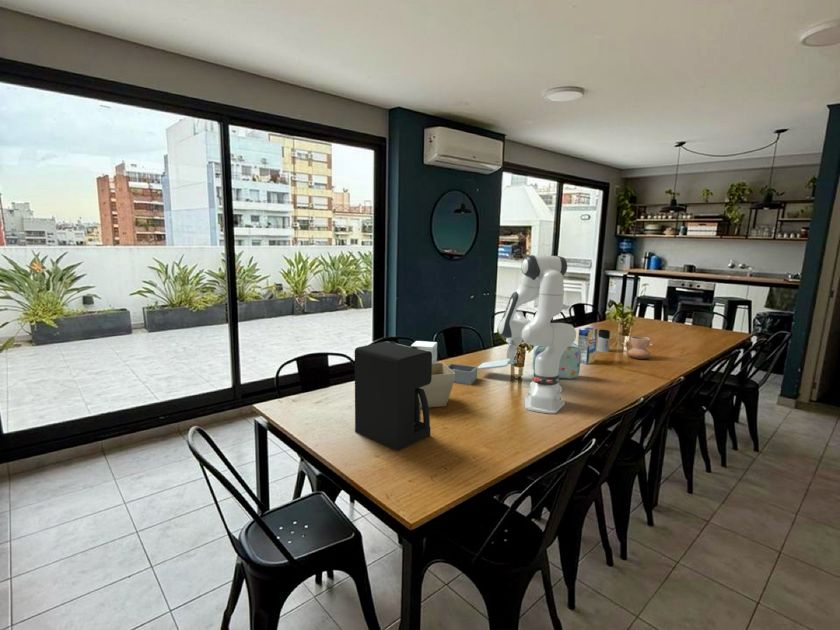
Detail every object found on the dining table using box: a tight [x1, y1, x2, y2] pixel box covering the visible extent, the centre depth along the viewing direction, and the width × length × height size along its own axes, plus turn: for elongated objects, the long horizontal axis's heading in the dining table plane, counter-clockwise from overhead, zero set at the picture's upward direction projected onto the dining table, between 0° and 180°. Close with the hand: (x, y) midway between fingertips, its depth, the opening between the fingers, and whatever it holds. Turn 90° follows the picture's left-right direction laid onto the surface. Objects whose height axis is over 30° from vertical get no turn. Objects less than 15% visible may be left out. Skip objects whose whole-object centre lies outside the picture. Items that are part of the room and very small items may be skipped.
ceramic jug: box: [625, 335, 653, 360], centre depth 303 cm, size 18×14×14 cm
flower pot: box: [418, 362, 455, 409], centre depth 210 cm, size 19×19×17 cm
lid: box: [477, 359, 518, 371], centre depth 253 cm, size 13×22×2 cm, turn 67°
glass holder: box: [595, 329, 618, 353], centre depth 319 cm, size 9×14×15 cm, turn 40°
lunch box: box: [532, 342, 581, 380], centre depth 255 cm, size 27×10×21 cm, turn 84°
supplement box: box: [410, 340, 438, 363], centre depth 259 cm, size 13×13×18 cm
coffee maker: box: [353, 341, 432, 452], centre depth 172 cm, size 28×20×35 cm
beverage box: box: [577, 326, 598, 365], centre depth 288 cm, size 7×11×22 cm, turn 131°
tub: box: [446, 363, 479, 386], centre depth 247 cm, size 12×16×7 cm
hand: (512, 362), depth 250 cm, fingers closed on lid, 3 cm apart
